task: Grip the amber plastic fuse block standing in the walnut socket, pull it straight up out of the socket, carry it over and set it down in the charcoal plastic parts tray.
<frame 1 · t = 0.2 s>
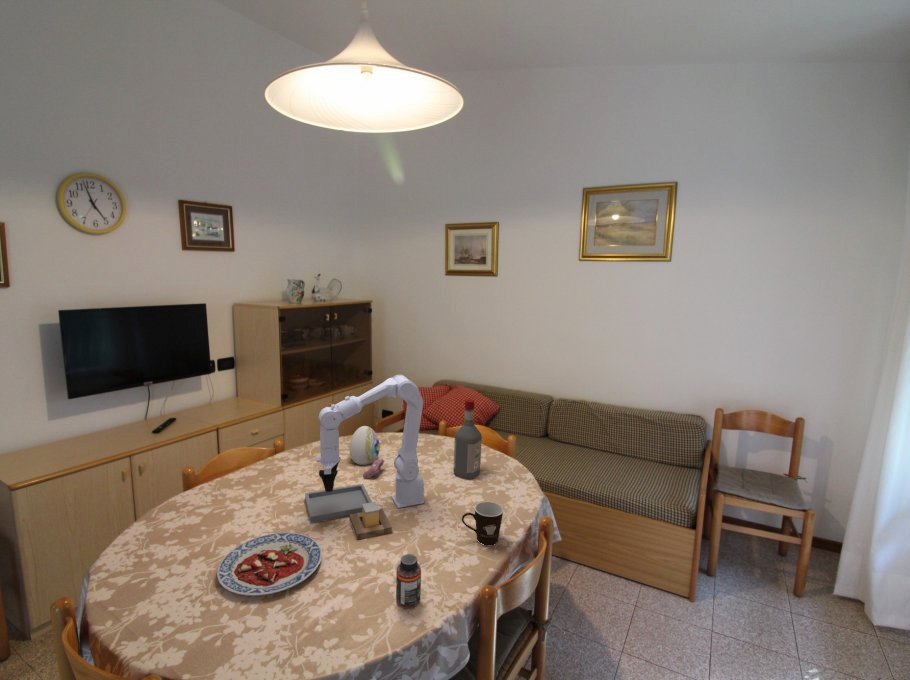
hand: (330, 485, 148), 10 cm above the table, tool pointing down, fingers open, 7 cm apart
coffee mug: (482, 538, 139), on the table
fuse: (370, 516, 143), in the socket
ceramic plate: (271, 568, 123), on the table
decorative egg: (364, 461, 190), on the table
video game controller: (374, 474, 179), on the table
supplement bottle: (408, 601, 112), on the table
socket: (370, 526, 143), on the table
liquor: (466, 474, 182), on the table
parts tray: (338, 505, 155), on the table
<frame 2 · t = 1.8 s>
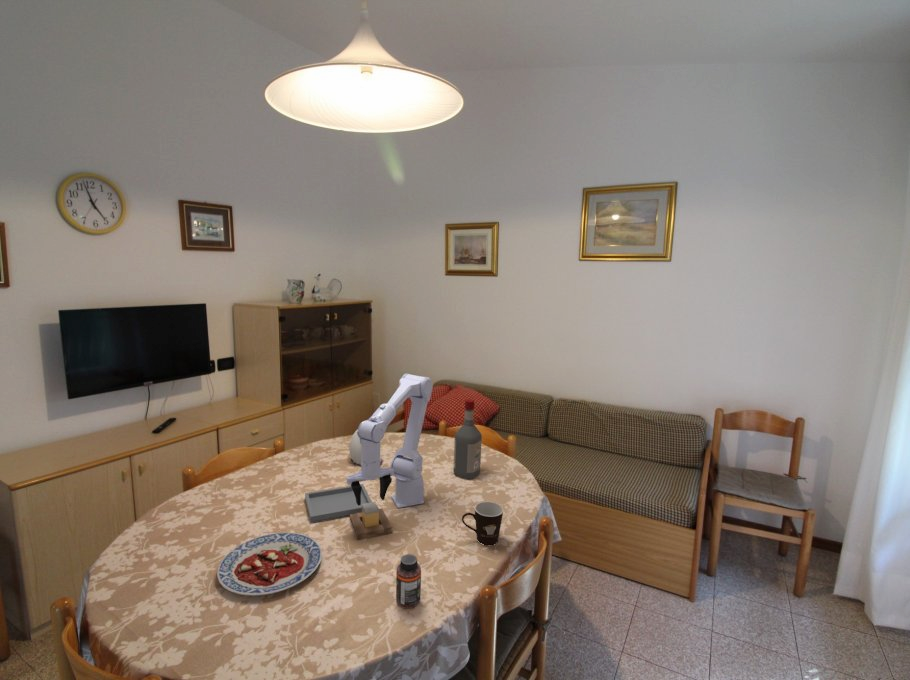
hand: (370, 501, 142), 8 cm above the table, tool pointing down, fingers open, 7 cm apart
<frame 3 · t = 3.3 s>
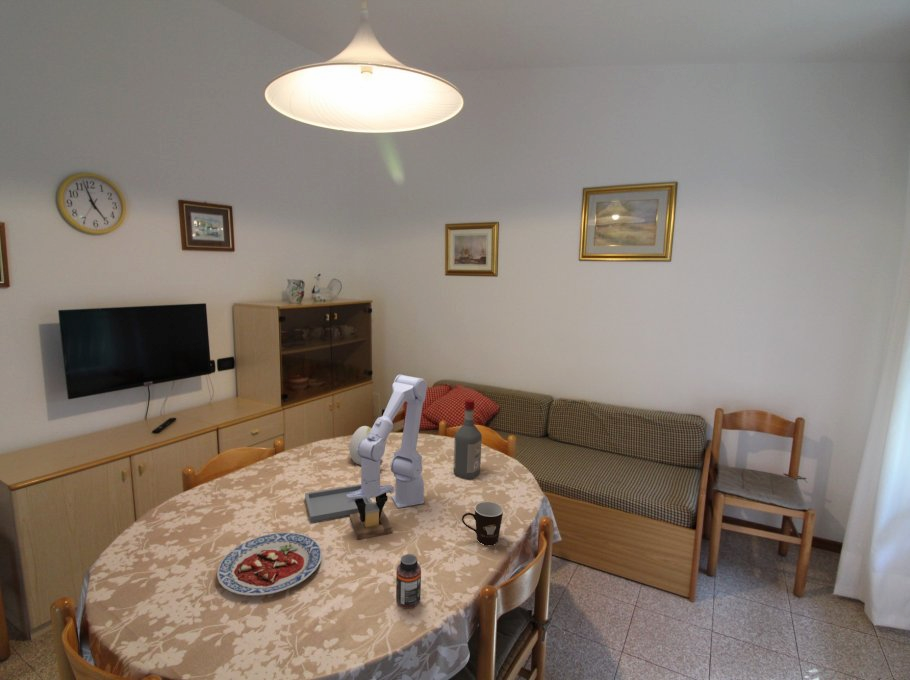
hand: (370, 518, 143), 3 cm above the table, tool pointing down, fingers closed on fuse, 4 cm apart
fuse: (370, 516, 143), in the socket, touching gripper
everything else where it was.
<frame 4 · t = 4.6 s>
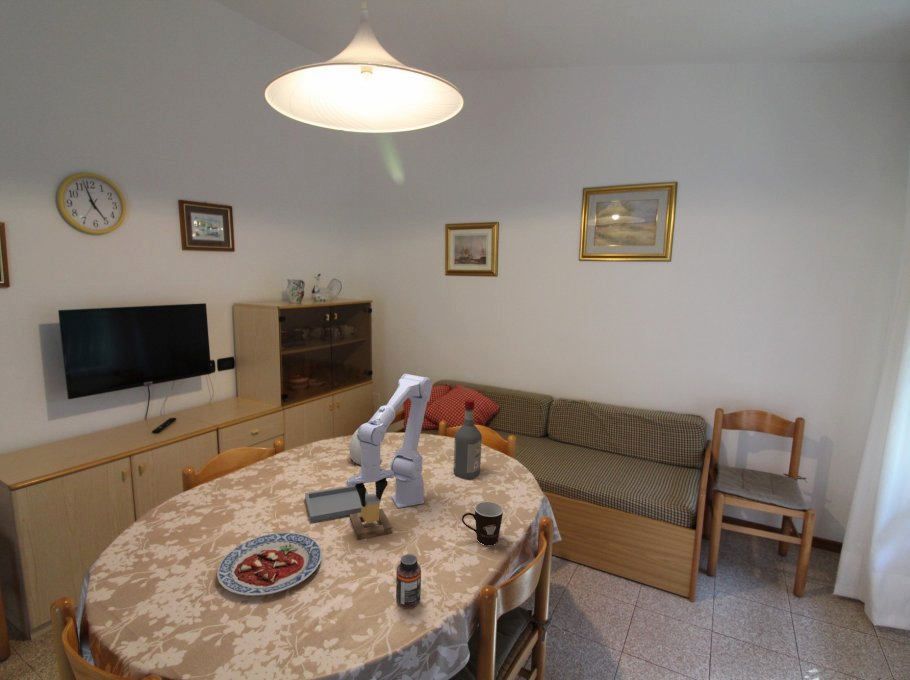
hand: (370, 503, 142), 8 cm above the table, tool pointing down, fingers closed on fuse, 4 cm apart
fuse: (370, 508, 142), point 6 cm above the table, touching gripper
when the fingers open (10 cm above the table, at t = 6.1 s): fuse drops 3 cm, resting on parts tray.
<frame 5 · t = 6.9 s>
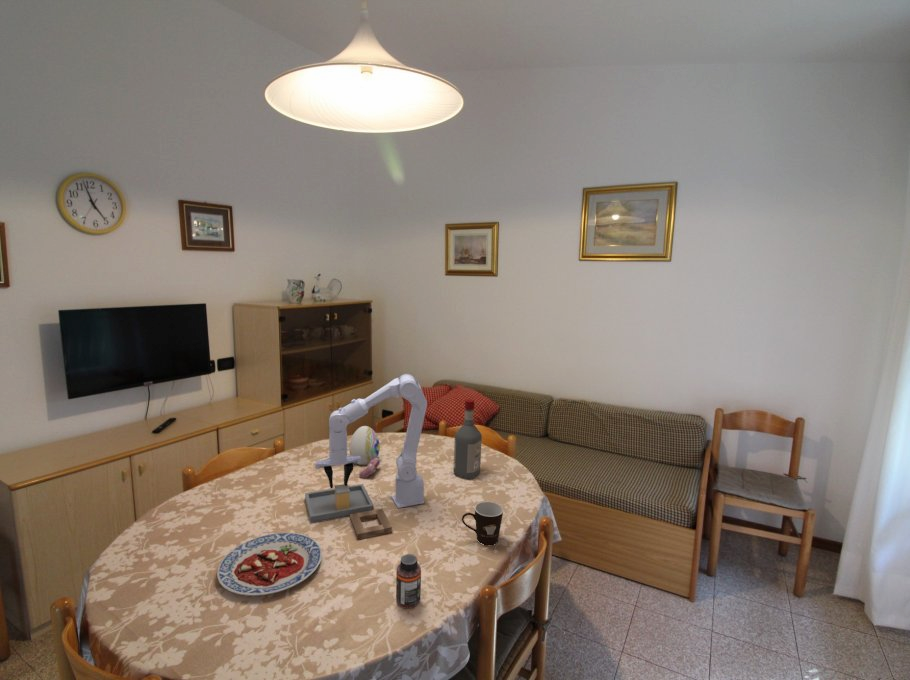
hand: (338, 485, 154), 7 cm above the table, tool pointing down, fingers open, 4 cm apart
fuse: (342, 497, 153), in the parts tray, point 4 cm above the table, touching gripper
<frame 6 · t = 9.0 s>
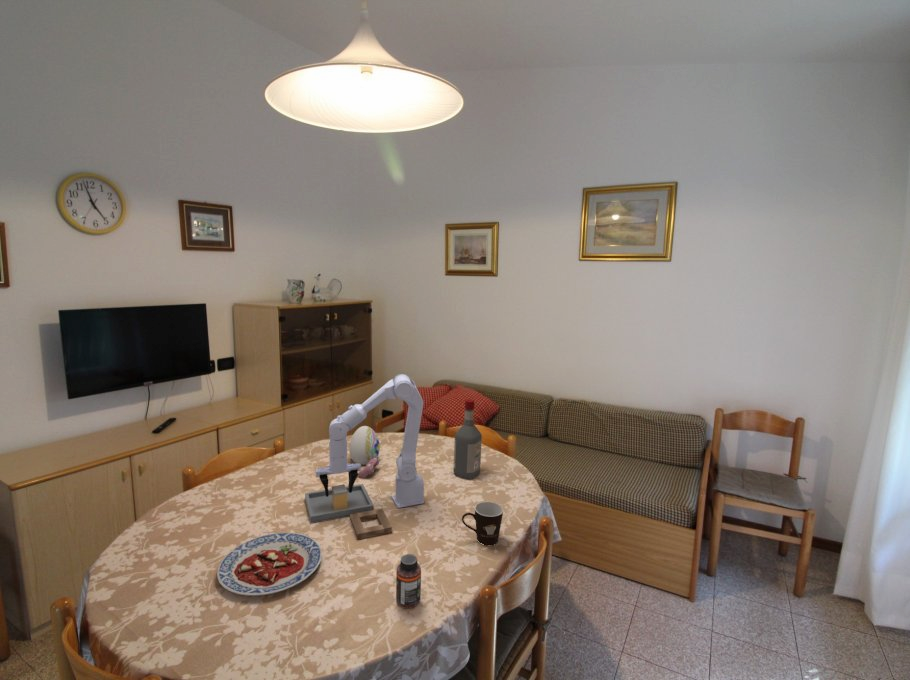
hand: (338, 493, 154), 4 cm above the table, tool pointing down, fingers open, 7 cm apart
fuse: (339, 498, 152), in the parts tray, point 4 cm above the table
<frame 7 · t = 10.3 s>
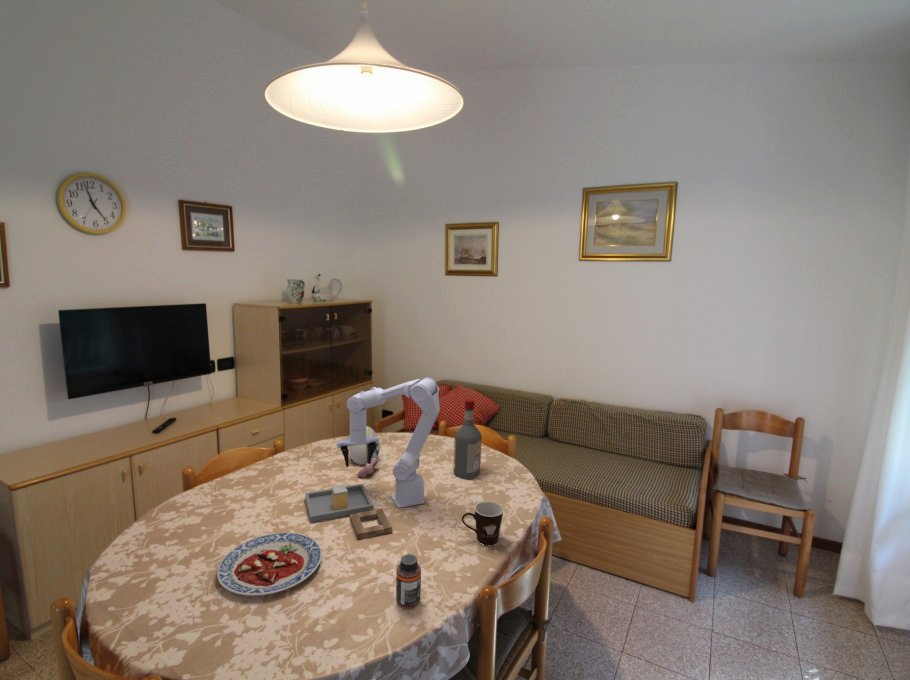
hand: (358, 464, 163), 10 cm above the table, tool pointing down, fingers open, 7 cm apart
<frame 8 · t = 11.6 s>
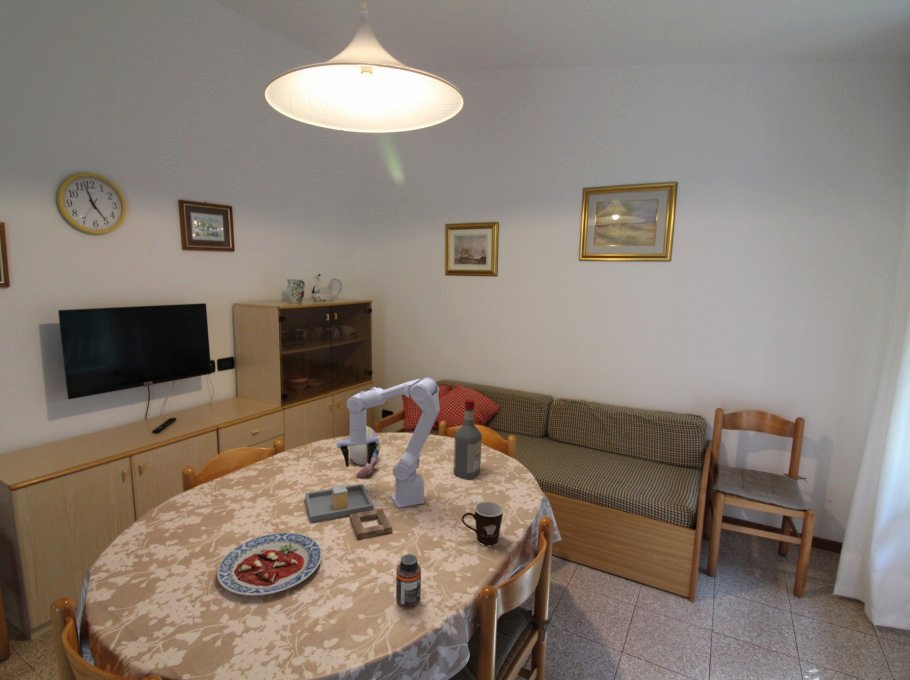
hand: (358, 464, 163), 10 cm above the table, tool pointing down, fingers open, 7 cm apart
at the end: fuse inside the target area on the parts tray (2.4 cm from its centre), point 3.8 cm above the parts tray's base; fuse tilted 0°; the gripper is holding nothing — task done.
